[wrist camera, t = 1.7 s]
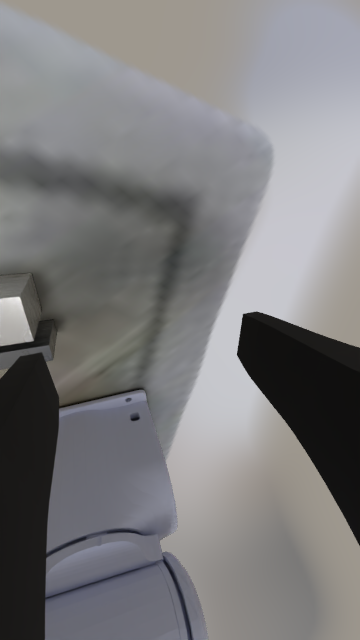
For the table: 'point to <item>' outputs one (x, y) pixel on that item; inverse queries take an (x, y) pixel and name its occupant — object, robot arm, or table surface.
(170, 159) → the table surface
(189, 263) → the table surface
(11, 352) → the bracket
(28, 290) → the bar
